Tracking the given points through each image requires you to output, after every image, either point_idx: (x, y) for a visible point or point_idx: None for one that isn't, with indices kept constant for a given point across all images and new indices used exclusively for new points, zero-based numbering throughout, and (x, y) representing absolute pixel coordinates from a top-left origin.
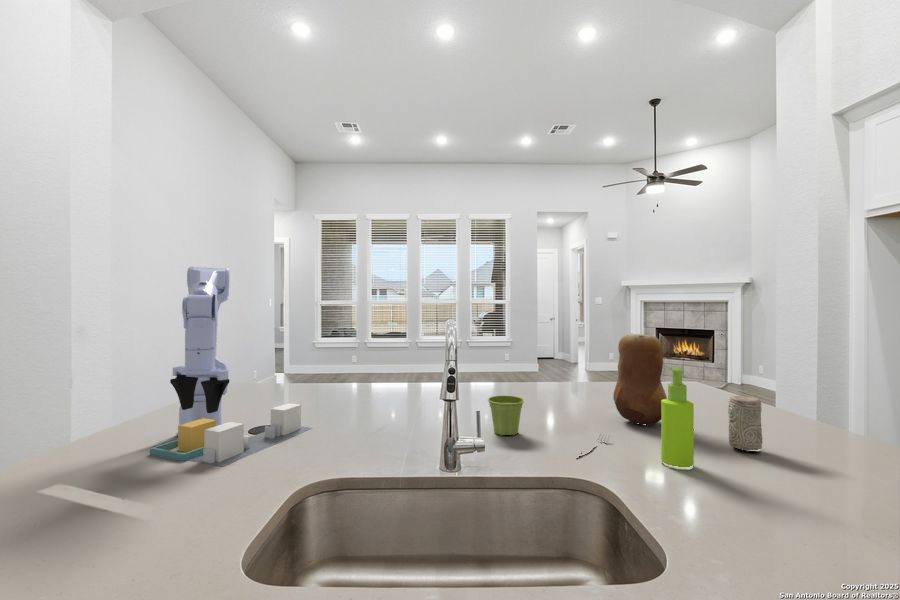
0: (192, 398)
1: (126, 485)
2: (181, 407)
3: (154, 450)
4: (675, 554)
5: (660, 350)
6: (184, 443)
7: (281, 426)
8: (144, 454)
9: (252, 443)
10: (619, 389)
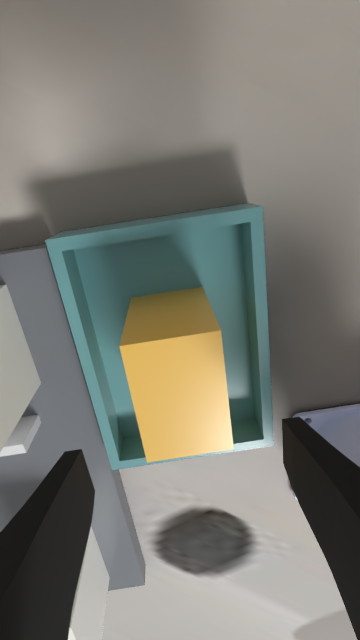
0: (310, 515)
1: (62, 3)
2: (304, 422)
3: (231, 211)
4: None
5: None
6: (170, 306)
7: None
8: (346, 236)
9: (41, 452)
10: None
